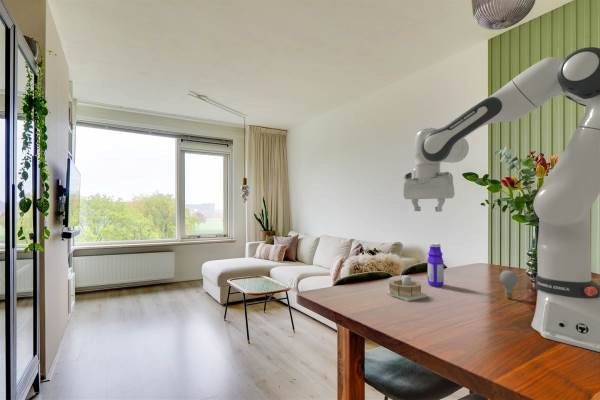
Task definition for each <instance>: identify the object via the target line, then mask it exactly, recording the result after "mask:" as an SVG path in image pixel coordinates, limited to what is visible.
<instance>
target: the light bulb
mask: <svg viewBox="0 0 600 400" xmlns="http://www.w3.org/2000/svg"><path fill="white" fill-rule="evenodd" d="M518 280H519V278H518V275H517V274H516V273H515V272H514V271H512V270H510V269H509V270H502V272H501V273H500V275H499V281H500V283H501V284H502V285H503V288H504V292H505V298H506V299H508V300H510V299H513V290H514V288H515V287H516V285H517V284H518Z"/></svg>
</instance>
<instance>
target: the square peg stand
mask: <svg viewBox="0 0 600 400" xmlns="http://www.w3.org/2000/svg"><path fill="white" fill-rule="evenodd" d="M401 278H402V279H401V280H402V285H403V286H411V280H412V277H411V276H410V275H402V276H401ZM386 295H387V296H391V297H395V298H398V299H400V300H403V301H405V302H408V301H409V302H411V301H415V300H418V299H424V298H428V294H427V293H423V292H421V295H419V296H414V297H412V296H411V297H405V296H397V295H394V294H391V293H390V290H388V291H386Z"/></svg>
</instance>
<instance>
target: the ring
mask: <svg viewBox="0 0 600 400" xmlns="http://www.w3.org/2000/svg"><path fill="white" fill-rule="evenodd" d="M388 287H389V291H390V293H391V294H394V295H397V296H405V297H411V296H412V297H414V296H419V295H421V293H422V285H421V282H419V281H415V280H412V279H411V286H403V285H402V279H393V280H389V286H388Z"/></svg>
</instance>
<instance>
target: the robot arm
mask: <svg viewBox="0 0 600 400" xmlns="http://www.w3.org/2000/svg"><path fill="white" fill-rule="evenodd" d="M558 96H565V98H567V99H568V100H570V101H573V102H574V103H576V104H578V105H579V106H583V107H585V111H584V115H582V116H583V117H582V119H581V120H580V122H579V123H578V126H577V127H576V128H575V131H574V132H573V134H572V136H571V138H570V140H569V141H568V144H567V145H566V147H565V148H564V150H563V152H562V154H561V155H560V157H559V159H558V160H557V162H556V163H555V165H554V166H553V167H552V169H551V171H550V172H549V174H548V175H547V177H546V178H545V180H544V182H542V185H541V187H540V188H539V189H538V191H537V193H536V195H535V197H534V198H533V203H532V204H533V205H532V207H533V210H534V213H535V215H536V216H537V218H539V219H538V220H539V222H538V234H537V235H538V237H537V243H536V245H537V246H536V250H537V251H536V252H537V254H536V256H537V274H536V275H535V293H536V295H537V296H536V304H535V310H534V316H533V319H532V321H531V323H530V324H531V325H530V326H531V328H532V329H534V330H535V331H537V332H538V333H540V335H541V336H542V337H543V338H544V339H548V340H550V341H555V342H559V343H563V344H567V345H570V346H575V347H579V348H582V349H586V350H587V349H588V350H591V351H595V352H598V353H600V284H598V283H597V282H595V281H594V280H592V251H591V249H592V248H591V246H592V242H591V241H592V240H591V239H592V236H591V235H592V234H591V232H592V231H591V225H592V224H591V222H592V221H591V207H593V204H594V203H595V201H596V200H597V199H598V196H599V195H600V47H595V46H593V47H592V46H588V47H583V48H580V49H577V50H575V51H573V52H571V53H570V54H569V55H567V56H566V57H565V58H564V59H561V58H558V57H555V56H549V57H545V58H543V59H541V60H539V61H537V62H536V63H534V64H532V65H531V66H529V67H528V68H526V69H525V70H523V71H522V72H520V73H519V74H517V75H516V76H515V77H514V78H512V79H511V80H510V81H509V82H507V83H506V84H505V85H503V86H502V87H501V88H500V89H497V90H496V91H495V92H494V93H492V94H491V95H489V96H487V98H484V100H482V101H480V102H478V103H477V104H475V105H474V106H472V107H471V108H469V109H468V110H467V111H464V113H462V114H461V115H459V116H458V117H456V118H455V119H454V120H452V121H450V122H449V123H447V124H446V125H444V126H443V127H440V128H435V127H429V128H424V129H422V130H420V131H418V132H417V133H416V135H415V137H414V146H413V153H414V154H413V155H414V160H415V162H414V168H413V169H412V170H410V171H408V172H407V173H405V174H404V175H403V180H404V183H403V187H402V188H403V189H402V190H403V192H402V193H403V194H402V195H403V198H404V200H411V204H412V205H413V207H414V208H413V211H414V212H421V206H419V200H429V199H430V200H432V199H433V200H436V199H437V202H438V203H437V205H436V206H435V207H434V208H435V210H434V212H435V213H436V212H437V213H440V212H442V211H443V207H444V204H445V203H446V199H453V198H454V197H455V186H454V181H453V180H454V179H453V178H454V177H453V174H452V173H451V172H449V171H443V172H441V163H452V164H453V163H458V162H461V161H463V160H464V159H465V158H466V156H467V155H468V153H469V148H470V147H469V143H468V141H467V139H466V137H467V136H469V135H471V134H472V133H474V132H475V131H477V130H478V129H480V128H482V127H483V126H487V125H490V124H491V125H492V124H496V123H504V122H505V123H506V122H514V121H517V120H520V119H522V118H524V117H525V116H527V115H529V114H531V113H533V112H534V111H535V110H537V109H538V108H540V107H541V106H542V105H544V104H545V103H547V102H548V101H549V100H551V99H553V98H556V97H558Z"/></svg>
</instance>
